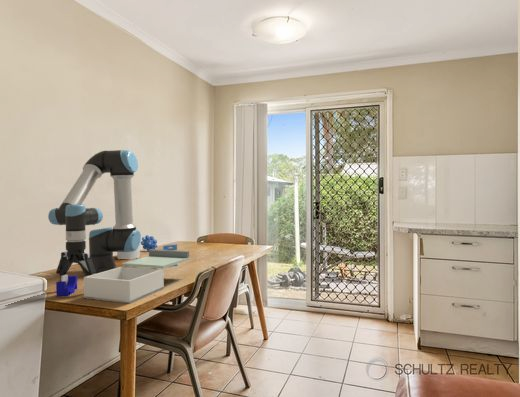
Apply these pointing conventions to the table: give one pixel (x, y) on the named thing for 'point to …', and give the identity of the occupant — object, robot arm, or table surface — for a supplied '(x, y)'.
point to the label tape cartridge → (174, 248)
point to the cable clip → (66, 290)
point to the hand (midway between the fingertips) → (76, 291)
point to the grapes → (149, 243)
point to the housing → (123, 284)
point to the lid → (159, 259)
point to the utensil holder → (129, 254)
